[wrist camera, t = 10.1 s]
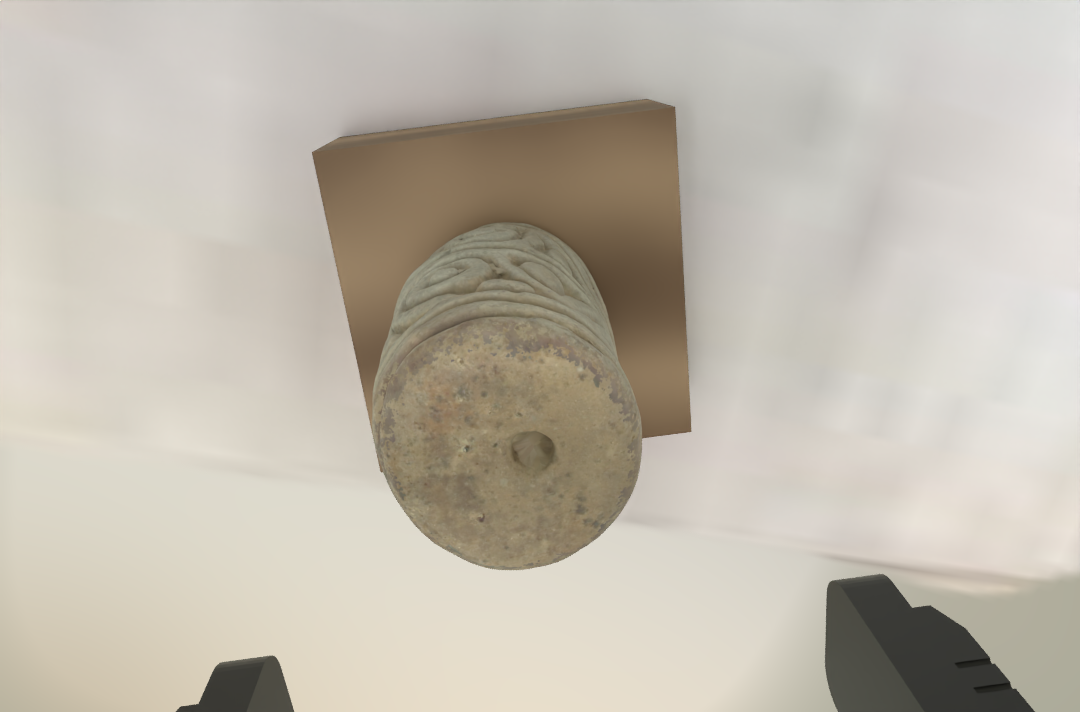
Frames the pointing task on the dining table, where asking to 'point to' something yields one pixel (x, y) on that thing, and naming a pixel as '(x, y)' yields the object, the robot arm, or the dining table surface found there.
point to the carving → (505, 401)
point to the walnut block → (532, 198)
